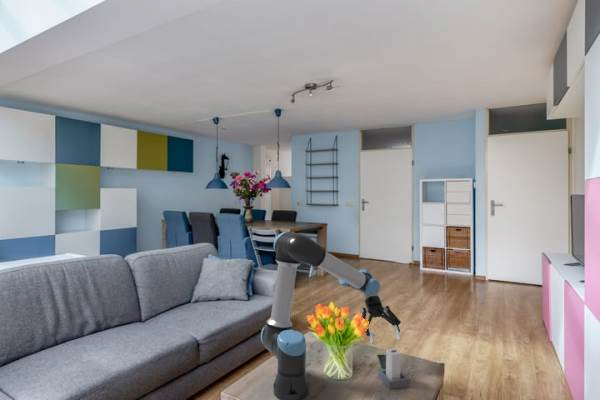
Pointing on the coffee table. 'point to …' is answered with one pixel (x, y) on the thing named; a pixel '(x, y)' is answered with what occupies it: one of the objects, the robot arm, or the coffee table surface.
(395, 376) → the charger
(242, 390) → the coffee table surface
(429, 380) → the coffee table surface
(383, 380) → the charging cradle
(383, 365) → the smartphone
